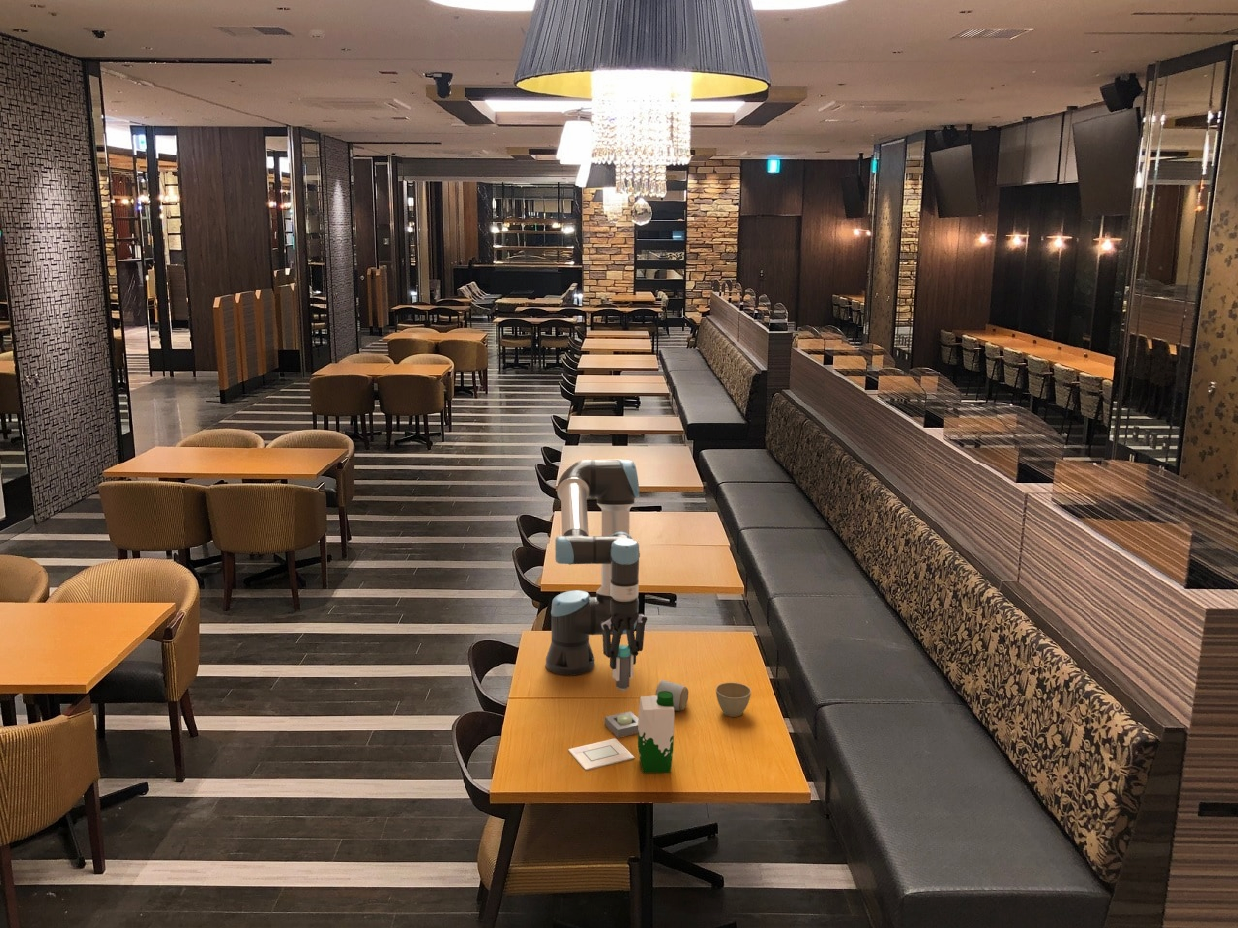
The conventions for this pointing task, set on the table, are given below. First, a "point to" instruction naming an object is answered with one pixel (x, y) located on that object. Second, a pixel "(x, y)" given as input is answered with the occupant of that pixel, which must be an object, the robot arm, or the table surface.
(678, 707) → the ceramic mug
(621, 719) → the button cap
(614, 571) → the robot arm
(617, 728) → the button housing
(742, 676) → the table surface
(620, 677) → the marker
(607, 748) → the sheet
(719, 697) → the flower pot
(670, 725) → the milk carton
